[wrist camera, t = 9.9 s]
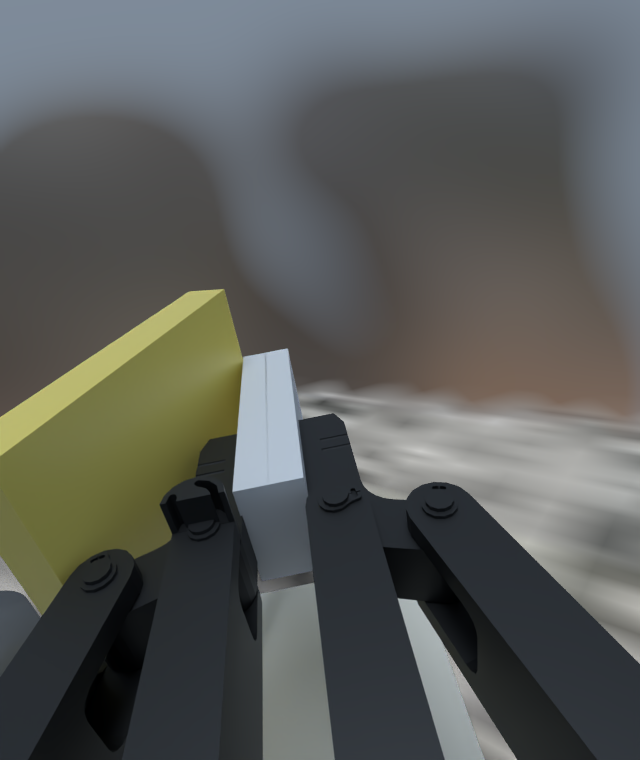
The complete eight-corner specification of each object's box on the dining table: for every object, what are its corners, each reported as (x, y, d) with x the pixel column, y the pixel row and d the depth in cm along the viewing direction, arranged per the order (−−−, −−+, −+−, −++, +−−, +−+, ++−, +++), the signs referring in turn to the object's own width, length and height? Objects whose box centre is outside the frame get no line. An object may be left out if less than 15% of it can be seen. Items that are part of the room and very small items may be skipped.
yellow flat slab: (97, 1389, 7) (-1604, 2070, 1) (-118, 1195, 9) (-1269, 1106, 3) (342, 573, 19) (283, 285, 13) (232, 556, 20) (137, 294, 15)
